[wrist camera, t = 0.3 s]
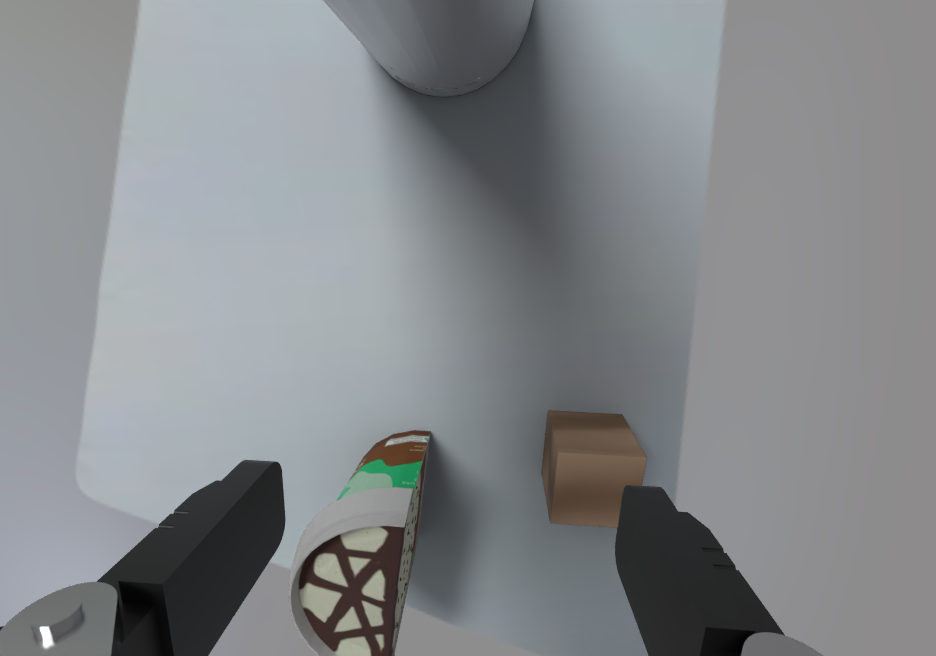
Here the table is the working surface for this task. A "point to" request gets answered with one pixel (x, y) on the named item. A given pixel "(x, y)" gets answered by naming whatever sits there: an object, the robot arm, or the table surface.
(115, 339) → the table surface
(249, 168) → the table surface
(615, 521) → the walnut cube
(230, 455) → the table surface
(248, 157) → the table surface
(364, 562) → the food container
